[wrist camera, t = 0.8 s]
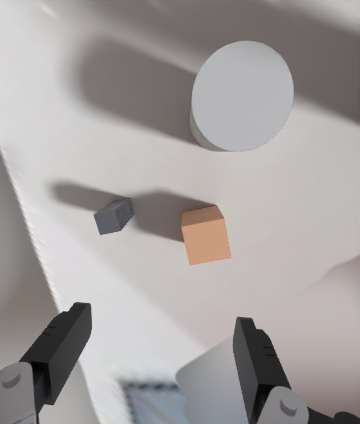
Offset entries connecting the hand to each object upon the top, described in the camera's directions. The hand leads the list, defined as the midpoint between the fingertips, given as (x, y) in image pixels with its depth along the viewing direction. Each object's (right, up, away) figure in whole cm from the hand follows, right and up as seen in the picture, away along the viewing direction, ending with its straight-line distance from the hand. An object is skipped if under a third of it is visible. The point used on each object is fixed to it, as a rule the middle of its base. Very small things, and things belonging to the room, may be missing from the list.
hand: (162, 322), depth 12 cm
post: (-7, +7, +21) cm, 23 cm away
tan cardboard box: (+4, +4, +21) cm, 22 cm away
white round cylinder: (+6, +18, +18) cm, 26 cm away
